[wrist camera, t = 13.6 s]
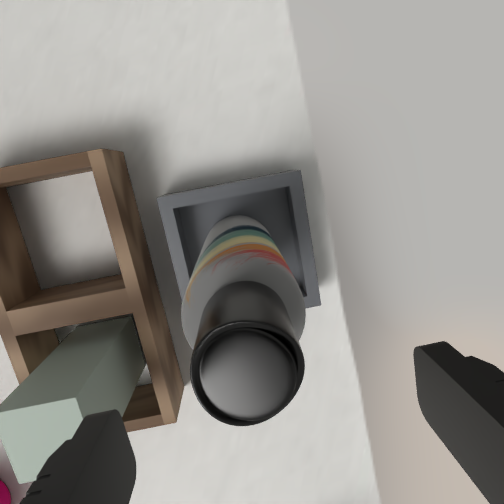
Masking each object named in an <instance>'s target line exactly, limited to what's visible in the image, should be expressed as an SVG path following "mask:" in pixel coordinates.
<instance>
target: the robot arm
mask: <svg viewBox="0 0 504 504" xmlns="http://www.w3.org/2000/svg"><path fill="white" fill-rule="evenodd" d="M414 365H415V376H416V386H417V396H418V401H419V405H420V408H421V411H422V413H423V415H424V417H425V419H426V421H427V422H428V423H429V425H430V426H431V428H432V429H433V430H434V431H435V433H436V434H437V435H438V437H439V438H440V439H441V440H442V442H443V443H444V444H445V446H446V447H447V448H448V450H449V451H450V452H451V453H452V455H453V456H454V458H455V459H456V460H457V461H458V463H459V464H460V465H461V467H462V468H463V469H464V470H465V472H466V473H467V474H468V476H469V477H470V478H471V480H472V481H473V482H474V484H475V485H476V486H477V487H478V489H479V490H480V491H481V493H482V494H483V495H484V497H485V498H486V499H487V500H488V502H489V503H490V504H504V373H503V372H502V371H501V370H499V369H498V368H497V367H496V366H494V365H493V364H490V363H487V362H485V361H483V360H480V359H478V358H475V357H473V356H469V357H464V356H463V355H462V354H461V353H459V352H458V351H457V350H456V349H454V348H453V347H452V346H451V345H450V344H448V343H447V342H444V341H442V342H438V343H433V344H428V345H423V346H418V347H415V349H414ZM135 480H136V461H135V456H134V453H133V450H132V447H131V444H130V441H129V438H128V435H127V432H126V429H125V426H124V423H123V420H122V417H121V414H120V412H119V411H118V410H116V409H114V410H109V411H104V412H99V413H94V414H90V415H87V416H85V417H84V419H83V420H82V422H81V424H80V425H79V427H78V429H77V430H76V432H75V434H74V436H73V437H72V439H69V440H66V441H65V442H64V443H63V444H62V445H61V446H60V447H59V448H58V449H57V450H56V451H55V452H54V453H53V454H52V455H51V456H50V457H49V458H48V459H47V461H46V462H45V464H44V465H43V467H42V469H41V470H40V472H39V473H38V475H37V477H36V481H33V483H32V485H31V486H30V488H29V490H28V491H27V493H26V497H25V498H23V499H22V501H21V502H20V504H129V501H130V498H131V494H132V491H133V488H134V484H135Z"/></svg>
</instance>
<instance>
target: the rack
mask: <svg viewBox="0 0 504 504" xmlns="http://www.w3.org/2000/svg"><path fill="white" fill-rule="evenodd" d="M89 171H93V174H94V178H95V181H96V185H97V188H98V192H99V196H100V199H101V203H102V206H103V210H104V213H105V217H106V220H107V224H108V227H109V231H110V234H111V238H112V242H113V245H114V249H115V252H116V256H117V259H118V263H119V266H120V270H121V273H122V274H119V275H114V276H109V277H104V278H99V279H94V280H89V281H84V282H78V283H73V284H68V285H63V286H58V287H53V288H48V289H43V290H41V289H40V286H39V283H38V280H37V277H36V274H35V271H34V268H33V265H32V262H31V259H30V257H29V254H28V251H27V248H26V245H25V242H24V239H23V236H22V233H21V230H20V227H19V224H18V221H17V218H16V215H15V212H14V210H13V207H12V204H11V201H10V198H9V195H8V192H7V189H6V187H11V186H16V185H21V184H26V183H32V182H37V181H42V180H47V179H52V178H58V177H63V176H68V175H73V174H78V173H84V172H89ZM130 313H133V316H134V319H135V323H136V326H137V330H138V333H139V337H140V341H141V344H142V348H143V351H144V355H145V358H146V362H147V365H148V369H149V372H150V376H151V379H152V384H147V385H142V386H137V387H135V390H134V392H133V394H132V396H131V399H130V401H129V403H128V405H127V408H126V410H125V412H124V414H123V417H122V420H123V423H124V426H125V429H126V432H131V431H136V430H141V429H146V428H151V427H156V426H161V425H166V424H171V423H176V422H177V417H178V413H179V408H180V404H181V399H182V395H183V390H184V384H183V380H182V376H181V373H180V369H179V365H178V361H177V357H176V353H175V350H174V346H173V342H172V338H171V334H170V330H169V327H168V323H167V319H166V315H165V311H164V307H163V304H162V300H161V296H160V292H159V288H158V284H157V281H156V277H155V273H154V269H153V265H152V261H151V258H150V254H149V250H148V246H147V242H146V238H145V234H144V231H143V227H142V223H141V219H140V215H139V211H138V208H137V204H136V200H135V196H134V192H133V188H132V185H131V181H130V177H129V173H128V169H127V165H126V162H125V158H124V154H123V152H120V151H114V150H108V149H102V148H101V149H96V150H91V151H86V152H81V153H75V154H70V155H65V156H60V157H54V158H49V159H44V160H39V161H33V162H28V163H23V164H18V165H13V166H7V167H2V168H0V335H1V337H2V340H3V342H4V345H5V348H6V350H7V353H8V356H9V358H10V361H11V364H12V366H13V369H14V371H15V374H16V377H17V379H18V382H19V385H20V384H21V383H22V382H23V381H24V380H25V379H26V378H27V377H28V376H29V375H30V374H31V373H32V372H33V371H34V370H35V369H36V368H37V367H38V366H39V365H40V364H41V363H42V362H43V361H44V360H45V359H46V358H47V357H48V356H49V355H50V354H51V353H52V352H53V351H54V350H55V349H56V347H57V346H58V345H59V342H58V339H57V336H56V333H55V330H54V328H59V327H64V326H69V325H74V324H79V323H84V322H89V321H94V320H99V319H104V318H110V317H115V316H120V315H125V314H130Z"/></svg>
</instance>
